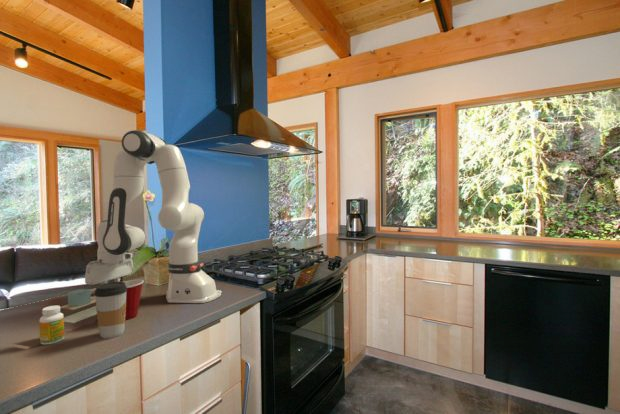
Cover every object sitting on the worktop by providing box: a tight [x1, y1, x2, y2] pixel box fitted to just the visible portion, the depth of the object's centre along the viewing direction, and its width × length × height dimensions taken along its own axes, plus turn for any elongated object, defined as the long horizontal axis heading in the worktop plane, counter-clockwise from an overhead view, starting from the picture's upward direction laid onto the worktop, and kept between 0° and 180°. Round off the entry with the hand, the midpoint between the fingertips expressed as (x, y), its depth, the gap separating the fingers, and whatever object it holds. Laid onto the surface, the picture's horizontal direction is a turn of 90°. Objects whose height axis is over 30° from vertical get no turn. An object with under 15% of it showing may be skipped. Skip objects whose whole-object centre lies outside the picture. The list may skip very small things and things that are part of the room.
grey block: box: [64, 305, 97, 324], centre depth 111 cm, size 8×20×5 cm, turn 164°
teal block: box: [67, 288, 92, 307], centre depth 118 cm, size 5×5×5 cm
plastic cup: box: [123, 279, 145, 321], centre depth 106 cm, size 11×11×12 cm
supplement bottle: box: [38, 305, 65, 346], centre depth 89 cm, size 5×5×10 cm
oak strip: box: [60, 295, 96, 311], centre depth 123 cm, size 8×20×5 cm, turn 164°
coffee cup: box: [93, 281, 127, 339], centre depth 93 cm, size 8×8×15 cm
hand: (111, 289), depth 131 cm, fingers closed on oak strip, 2 cm apart
